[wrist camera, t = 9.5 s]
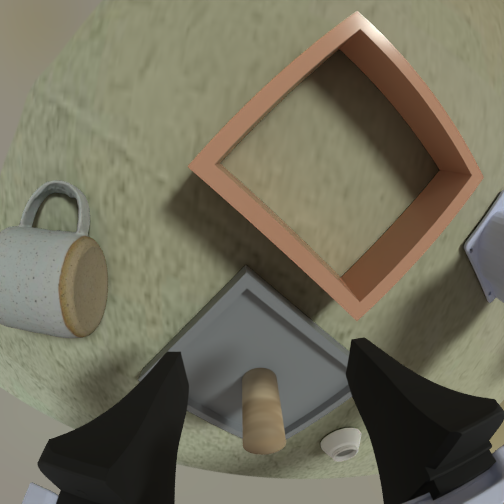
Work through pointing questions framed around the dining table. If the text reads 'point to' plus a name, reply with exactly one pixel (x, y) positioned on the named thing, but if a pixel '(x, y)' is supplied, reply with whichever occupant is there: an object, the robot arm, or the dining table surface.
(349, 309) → the terracotta planter box
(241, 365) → the slate tray
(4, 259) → the ceramic mug
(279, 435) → the maple pin
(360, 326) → the dining table surface
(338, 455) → the white jar
